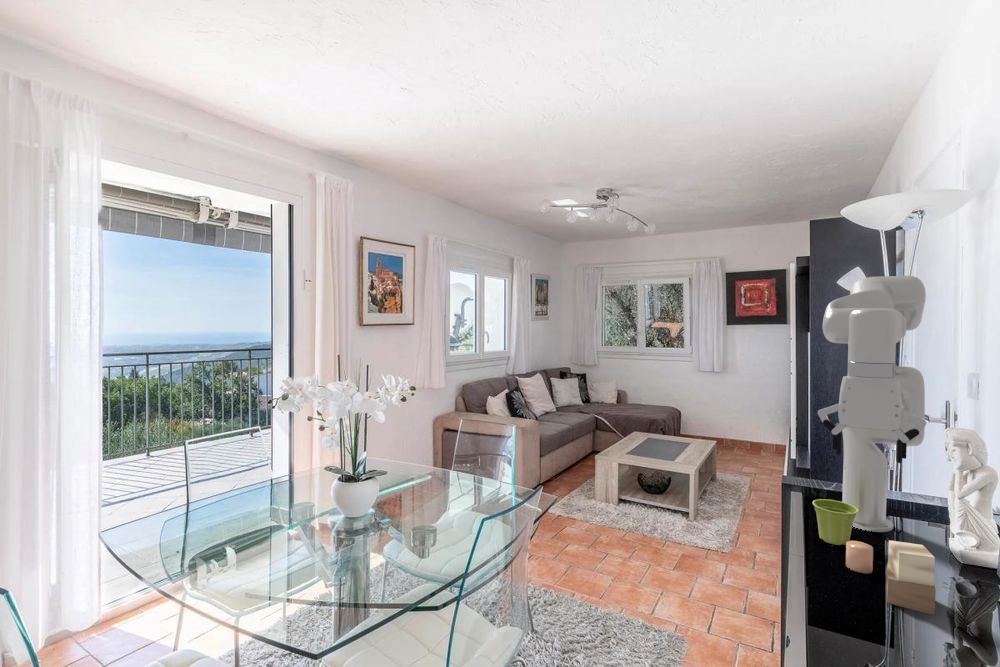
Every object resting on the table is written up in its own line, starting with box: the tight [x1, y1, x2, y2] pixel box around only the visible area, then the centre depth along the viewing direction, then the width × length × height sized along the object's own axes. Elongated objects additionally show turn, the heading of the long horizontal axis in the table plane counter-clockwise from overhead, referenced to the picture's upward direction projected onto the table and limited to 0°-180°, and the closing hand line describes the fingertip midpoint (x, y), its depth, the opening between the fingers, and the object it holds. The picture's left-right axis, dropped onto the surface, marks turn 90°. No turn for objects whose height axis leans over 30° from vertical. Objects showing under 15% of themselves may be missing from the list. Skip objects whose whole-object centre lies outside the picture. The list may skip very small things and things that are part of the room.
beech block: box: [887, 540, 936, 586], centre depth 99 cm, size 6×6×6 cm
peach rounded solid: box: [845, 540, 874, 574], centre depth 112 cm, size 5×5×5 cm
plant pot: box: [812, 498, 858, 546], centre depth 125 cm, size 9×9×9 cm
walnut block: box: [885, 563, 936, 616], centre depth 99 cm, size 7×7×5 cm
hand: (867, 457), depth 100 cm, fingers open, 9 cm apart
